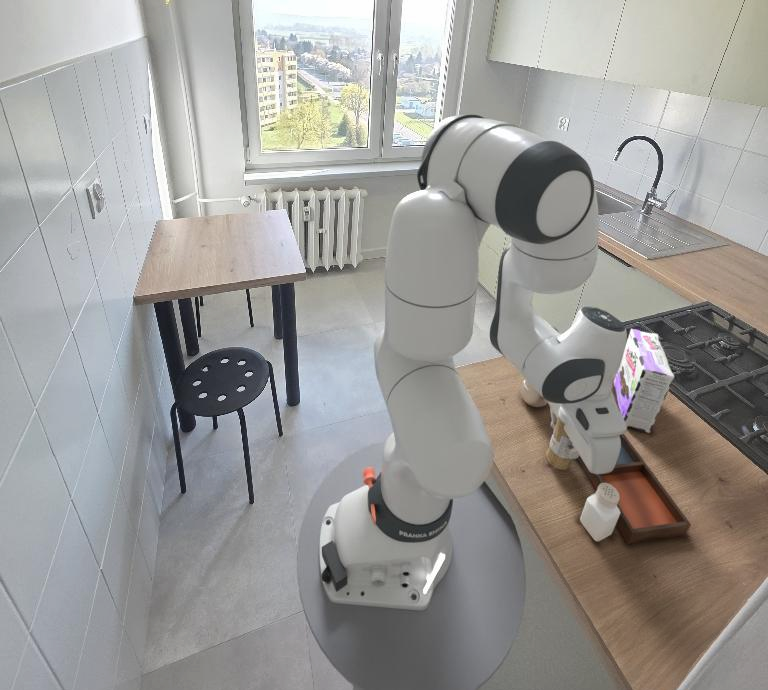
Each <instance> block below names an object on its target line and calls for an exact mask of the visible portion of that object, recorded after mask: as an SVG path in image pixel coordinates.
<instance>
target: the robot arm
mask: <svg viewBox="0 0 768 690" xmlns="http://www.w3.org/2000/svg"><path fill="white" fill-rule="evenodd" d="M420 162H421V163H420V165H419V167H418V169H417V171H416V172H417V173H416V179H417V183H418V186H419V189H420V190H418V191H414V192H412V193H410V194H408V195H406V196H404V198H402V199H401V200H400V201H399V202H398V203H397V205H396V207H395V209H394V211H393V214H392V217H391V221H390V226H389V231H388V237H387V244H386V252H385V264H384V328H383V329H382V330H381V331H380V332H379V334H378V335H377V337H376V339H375V341H374V343H373V358H374V368H375V370H374V371H375V375H376V380H377V382H378V385H379V388H380V392H381V394H382V396H383V400H384V403H385V407H386V409H387V413H388V416H389V420H390V423H391V427H392V433H390V434H389V436H388V437H387V438H386V440H385V441H386V442H385V444H384V447H383V454H382V471H381V473H380V474H379V476H378V477H377V479H376V478H375V470H374V468H372V467H367V468H365V469H364V470H363V476H364V484H365V486H363V487H361V488H359V489H357V490H355V491H353V492H351V493H349V494H347V495H345V496H344V497H343V498H342V499H341V501H340V502H339V503H336V504H333V505H331V506H330V507H329V508H328V510H327V512H326V514H325V516H324V519H323V522H322V526H321V532H320V541H319V565H320V573H321V579H322V583H323V586H324V589H325V591H326V594H327V596H328V597H329V599H330V600H331V601H332V602H334V603H340V604H351V605H362V606H373V607H384V608H396V609H407V610H418V611H423V610H425V609H427V607H428V606H429V604H430V601H431V598H432V594H433V591H434V588H435V587H436V585H437V584H438V583H439V582H440V580H441V579H442V578H443V577H444V575H445V574H446V572H447V570H448V568H449V565H450V562H451V558H452V537H451V533H450V530H449V520H450V517H451V512H452V507H453V499H458V498H462V497H465V496H467V495H469V494H471V493H472V492H474V491H475V490H476V489H478V488H479V487H480V486H481V485H482V483H483V482H484V481H485V482H486V479H487V478H488V476H489V474H490V472H491V471H492V467H493V464H494V459H495V454H494V449H493V446H492V443H491V440H490V436H489V433H488V430H487V427H486V424H485V422H484V419H483V415H482V414H481V412H480V410H479V408H478V407H477V405H476V403H475V401H474V400H473V398H472V396H471V394H470V392H469V391H468V389H467V388H466V385H465V384H464V383H463V380H462V379H461V375H460V374H459V372H458V370H457V367H456V364H455V362H454V357H455V356H456V355H457V354H459V353H461V352H462V351H463V350H464V349H465V348H466V347H467V346H469V343H470V342H471V339H472V337H473V331H474V324H475V323H474V322H475V313H476V305H477V293H478V285H479V273H480V272H479V270H480V269H479V268H480V265H479V264H480V255H479V253H480V252H479V250H480V246H481V243H482V241H483V238H484V236H485V234H486V232H487V231H488V229H489V228H490V226H494V227H496V228H498V229H500V230H501V231H503V232H504V233H505V234H506V235H507V236H509V237H510V239H509V240H510V243H509V244H508V245H507V246H506V247H505V248H504V250H503V251H502V254H501V257H500V259H499V265H498V273H497V285H496V286H497V287H496V300H495V310H494V313H493V314H494V315H493V317H492V320H491V324H490V326H489V327H490V328H489V341H490V344H491V345H492V347H493V348H494V349H495V350H496V351H498V353H500V355H502V357H503V358H505V359H506V360H507V361H508V362H509V363H510V364H511V365H512V366H513V367H514V369H516V370H517V372H519V374H520V375H521V376H522V377H523V379H526V380H527V381H528V382H529V383H530V384H531V385H532V386H533V387H534V388H535V389H536V391H537V392H538V393H539V394H540V395H541V396H542V397H544V399H545V400H546V401H547V404H548V405H549V407H550V409H549V410H550V418H551V421H550V424H549V425H550V427H551V428H552V430H553V431H554V428H555V425H556V423H557V419H558V417H559V414H558V413H559V409H560V406H561V407H562V408H563V410H564V411H565V413H566V414H567V416H568V422H567V424H565V426H564V430H565V432H566V434H567V435H568V437H569V438H570V440H571V442H572V443H573V444H572V446H571V445H570V446H567V450H566V453H567V454H568V456H569V458H570V459H571V460H578V459H577V458H578V457H579V455H580V457H581V458H582V460H583V462H584V463H585V465H586V467H587V468H588V470H589V471H590V472H591V473H593V474H605V473H609V472H611V471H612V470H613V469H614V467H615V464H616V462H617V459H618V456H619V453H620V448H621V440H620V436H619V435H622V434H624V435H626V432H627V430H628V426H627V425H626V423H625V421H624V419H623V417H622V415H621V413H620V411H619V406H618V403H617V402H616V401H617V400H616V398H615V396H614V393H613V391H612V389H613V386H614V382H613V380H614V377H615V375H616V373H617V371H618V370H619V367H620V364H621V361H622V358H623V355H624V351H625V346H626V342H627V339H628V331H627V328H626V325H625V324H624V323H623V322H622V321H621V320H619V319H618V318H617V317H615V316H614V315H613V314H611V313H610V312H608V311H607V310H603V309H601V308H599V307H596V306H582V307H581V308H580V309H579V310H578V311H577V313H576V314H575V317H574V320H573V321H572V323H571V326H570V328H568V329H567V330H566V331H565V332H563V333H560V332H559V333H558V332H557V331H556V330H555V329H554V328H553V327H554V326H553V325H551V324H550V323H549V322H547V321H546V320H545V318H543V317H542V316H541V315H540V314H539V313H538V312H537V311H536V309H535V308H534V306H533V297H534V293H535V294H540V295H560V294H564V293H567V292H568V293H569V292H571V291H573V290H575V289H577V288H579V287H581V286H583V284H585V283H586V282H587V281H588V280H589V279H590V278H591V276H592V274H593V273H594V271H595V268H596V265H597V261H598V255H599V235H600V234H599V233H600V219H599V218H600V217H599V216H600V214H599V203H598V197H597V196H598V195H597V190H596V185H595V180H594V177H593V173H592V169H591V167H590V164H589V163H588V162H587V160H586V159H585V158H584V157H582V155H580V154H579V153H578V152H577V151H575V150H574V149H573V148H570V147H569V146H567V145H565V144H564V143H561V142H559V141H556V140H548V139H547V138H545V137H542V136H540V135H539V134H536V133H533V132H531V131H528V130H526V129H524V128H522V127H521V126H519V125H517V124H513V123H509V122H506V121H502V120H501V121H500V120H497V119H492V118H485V117H483V116H481V115H478V114H469V113H467V114H457V115H452V116H449V117H446V118H444V119H443V120H441V121H440V122H438V124H436V125H435V127H434V128H433V129H432V131H431V132H430V134H429V135H428V137H427V139H426V142H425V144H424V146H423V150H422V154H421V161H420ZM552 326H553V327H552ZM327 522H330V525H327V524H326V523H327ZM362 594H363V595H364V596H361V595H362ZM412 596H415V597H416V600H412V599H411V597H412Z"/></svg>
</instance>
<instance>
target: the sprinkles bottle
mask: <svg viewBox="0 0 768 690" xmlns="http://www.w3.org/2000/svg"><path fill="white" fill-rule="evenodd" d="M558 414H559V417H558V419H557V423H556V425H555V428H554V430H553V432H552V435H551V438H550V441H549V444H548V448H547V449H546V451H545V456H546V459H547V461H548V463H549V464H550V465H551V466H552V467H554V468H555V469H558V470H568V469H569V467H570V466H571V461H572V459H570V458H569V456H568V454H567V453H566V450H567V446H570V445H571V446H572V444H573V443H572V442H571V440H570V438H569V437H568V435H567V434H566V432H565V430H564V426H565V424H567V422H568V416H567V414H566V413H565V411H564V410H563V408H562V407H561V406H560V409H559V413H558Z"/></svg>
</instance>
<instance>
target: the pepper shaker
mask: <svg viewBox="0 0 768 690" xmlns="http://www.w3.org/2000/svg"><path fill="white" fill-rule="evenodd" d="M619 499H620V498H619V493H618V491H617V490H616V488H614V487H613V486H612V485H610V484H608V483H601V484H600V485H599V486H598V488H597V491H596V490H595V493H592V494H591V495H589V496H588V497H587V498H586V501H585V503H584V507H583V509H582V512H581V515H580V517H579V521H580V523H581V525H582V526H583V527H584V529H585V530H586V531H587V533H588V534H589V535H590V536H591V538H592V539H593V540H594V541H595V542H600V541H602V540H604V539H606V538H607V537H609V536H611V535H612V534H613V532H614V530H615V527H616V526H617V525H616V523H617V520H618V518H619V516H620V510H619V508H618V507H617V504H618V501H619Z"/></svg>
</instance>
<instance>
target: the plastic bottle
mask: <svg viewBox="0 0 768 690" xmlns="http://www.w3.org/2000/svg"><path fill="white" fill-rule="evenodd" d="M551 326H552V327H553V328H554V329H555V330H556V331H557V332H558V333H560V330H559V329H558V328H557V327H555V326H553V325H551ZM520 396H521V398H522V399H523V401H524V402H525V404H527V405H528V406H530V407H534V408H542V407H544V406H546V405H547V404H548V402H547V401H546V400H545V399H544V397H542V396H541V395H540V394H539V393H538V392H537V391H536V389H535V388H534V387H533V386H532V385H531V384H530V383H529V382H528V381H527V380H526V379H525V378H523V381H522V383H521V386H520Z"/></svg>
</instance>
